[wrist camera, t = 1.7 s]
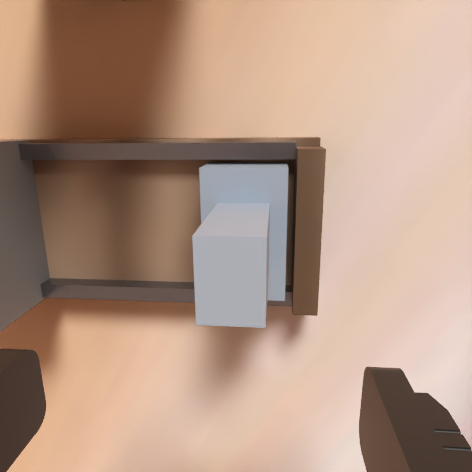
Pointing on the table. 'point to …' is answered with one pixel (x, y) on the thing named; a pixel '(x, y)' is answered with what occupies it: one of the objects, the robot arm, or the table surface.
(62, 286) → the guide rails
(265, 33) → the table surface
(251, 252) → the carriage
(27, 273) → the cabinet
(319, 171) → the rail bed
